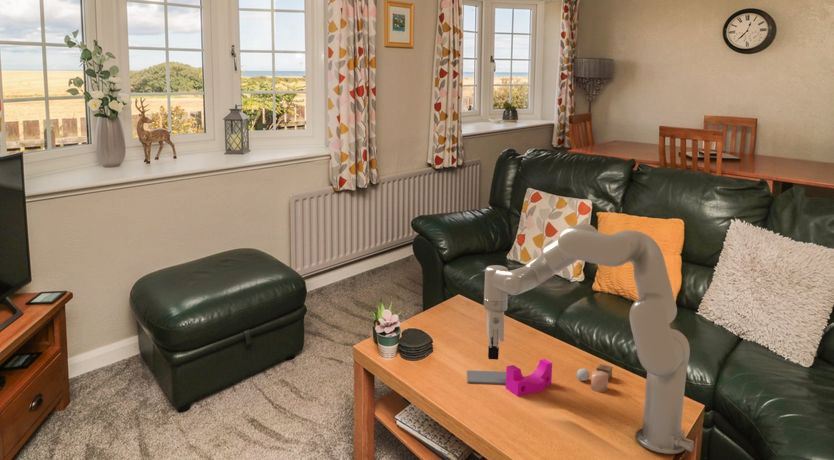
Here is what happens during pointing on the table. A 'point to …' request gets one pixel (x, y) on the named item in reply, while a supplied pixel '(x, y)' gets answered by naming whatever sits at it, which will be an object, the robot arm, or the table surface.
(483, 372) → the felt pad
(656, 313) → the robot arm
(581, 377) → the grey ball
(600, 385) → the beige glossy rounded block
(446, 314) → the table surface
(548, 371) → the toy block
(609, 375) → the walnut cube
